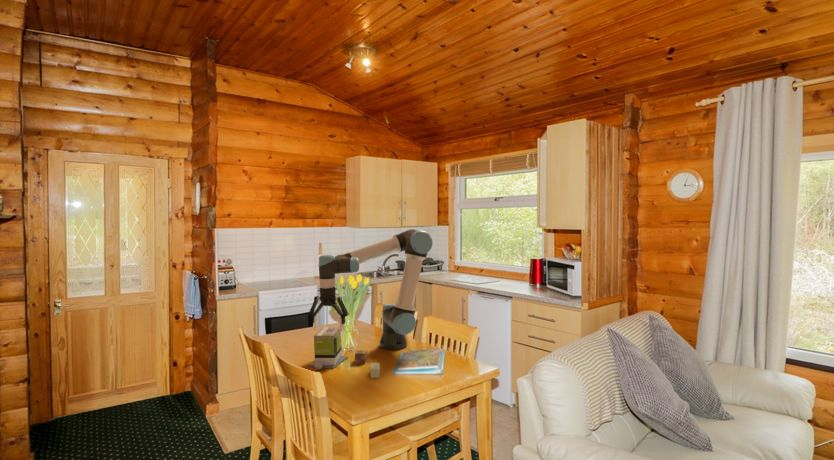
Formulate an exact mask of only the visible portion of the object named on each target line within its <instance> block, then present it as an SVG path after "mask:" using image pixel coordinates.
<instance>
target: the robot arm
mask: <svg viewBox="0 0 834 460" xmlns="http://www.w3.org/2000/svg"><path fill="white" fill-rule="evenodd" d="M432 248H433V238H432V237H431V235H430V233H428V232H427V231H425V230H422V229H415V228H413V229H407V230H406V231H403V232H400V233H397V234H395V235H393V236H392V238H388V239H386V240H383V241H379V242H377V243H373V244H370V245H367V246H364V247H362V248H359V249H355V250H353V251H350V252H347V253H344V254H343V253H342V254H337V255H336V256H335V255H334V254H322V255H320V256H319V257H318V277H319V281H318V283H319V284H318V285H319V295H316V296H314V297H313V303H312V305H311V308H310V310H309V312H308V315H310V316H311V317H312V323H313V325H314V331H316V330H318V329H319V328H320V325H319V315H318V314H319V312H320V311H321V310H322V308H323V307H332V308H333V309H334V310H335V311H336V313H337V314H338V315H339V327H340V331H341V332H343V331H344V329H345V327H344V326H345V324H346V317H348V316H350V314H349V311H348V309H347V307H346V305H345V303H344V302H343V297H342V296H341V295H340V296H336V292H337V291H336V287H335V286H336V275H339V274H353V273H357V272H359V271H360V264H363V263H367V262H369V261H372V260H375V259H379V258H381V257H384V256H387V255H390V254H393V253H396V252H397V253H402V252H404V255H405V257H406V259H405V263H404V269H403V274H402V278H401V282H400V287H399V288H400V289H399V292H398V298H397V302H396V303H395V302H394V303H385V304H384V305H382V310H381V312H382V333H381V337H380V340H379V347H380V348H382V349H385V350H401V349H404V348H406V347H407V346H408V340H407V337H406V336H407V335H408V334H410V333H412V332H413V331H414V330H415V328H416V325H417V320H416V317H415V314H416V308H415V306H414V304H415V300H416V299H415V298H416V295H417V291H418V290H417V289H418V287H419V286H418V284H419V281H420V275H421V270H422V266H423V261H424V260H425V259H427V256H428V253H429V252H430V251H431V249H432ZM319 301H320V303H319ZM337 302H338V303H337ZM318 303H319V305H318ZM317 305H318V306H317ZM319 330H320V329H319Z"/></svg>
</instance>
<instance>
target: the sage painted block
mask: <svg viewBox="0 0 834 460" xmlns="http://www.w3.org/2000/svg"><path fill="white" fill-rule="evenodd" d="M380 365H381V364H380V362H371V363H370V378H375V379H376V378H380V377H381V376H380V375H381V374H380V373H381V370H380V369H381V366H380Z"/></svg>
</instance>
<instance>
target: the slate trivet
mask: <svg viewBox="0 0 834 460" xmlns="http://www.w3.org/2000/svg"><path fill="white" fill-rule="evenodd" d="M348 359H349V356H346V355H342V356H341V357H340V358H339V360H338V361H337V363H336V364H335V365H323V367H322V368H321V369H331V370H334V369H335V368H337V367H338V366H340V365H341V364H342V363H344V361H346V360H348ZM314 364H315V360H314V361H312V362H311V363H310V364H309V363H308V367H310V368H311V367H312V368H315V367H314Z"/></svg>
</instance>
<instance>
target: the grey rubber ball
mask: <svg viewBox="0 0 834 460" xmlns="http://www.w3.org/2000/svg"><path fill="white" fill-rule="evenodd" d="M322 367H323V363H322V362H321V361H316V362H315V364H314V367H313V368H314V369H315V370H321V369H323V368H322Z"/></svg>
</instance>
